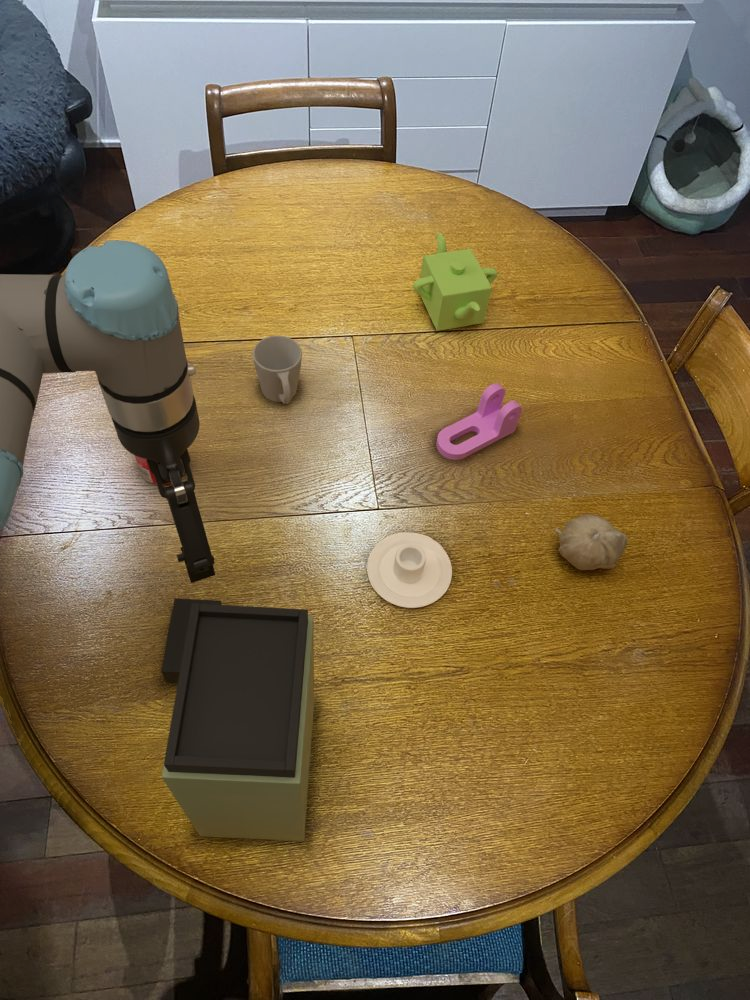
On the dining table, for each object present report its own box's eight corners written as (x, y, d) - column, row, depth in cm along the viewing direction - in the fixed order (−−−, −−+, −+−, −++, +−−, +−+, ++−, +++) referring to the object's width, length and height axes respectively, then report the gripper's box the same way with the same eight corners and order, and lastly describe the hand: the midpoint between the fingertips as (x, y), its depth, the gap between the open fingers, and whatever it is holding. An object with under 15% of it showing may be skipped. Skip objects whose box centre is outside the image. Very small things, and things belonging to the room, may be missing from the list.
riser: (199, 836, 90) (161, 777, 68) (219, 700, 99) (190, 608, 77) (304, 841, 91) (300, 783, 68) (314, 705, 100) (313, 615, 77)
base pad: (168, 771, 68) (163, 764, 66) (194, 613, 76) (191, 603, 74) (295, 777, 68) (294, 770, 66) (308, 619, 77) (307, 609, 75)
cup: (296, 368, 131) (295, 331, 123) (311, 413, 125) (311, 377, 118) (251, 376, 129) (247, 339, 122) (265, 423, 124) (262, 387, 117)
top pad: (213, 685, 100) (209, 673, 97) (166, 682, 100) (160, 671, 97) (223, 613, 106) (220, 600, 102) (179, 611, 105) (174, 598, 102)
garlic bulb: (607, 566, 116) (653, 541, 108) (575, 596, 112) (621, 573, 103) (566, 515, 117) (609, 487, 109) (534, 543, 112) (575, 516, 104)
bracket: (493, 408, 128) (501, 379, 123) (514, 431, 126) (524, 403, 120) (429, 440, 124) (434, 412, 118) (450, 465, 122) (457, 437, 116)
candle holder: (439, 529, 115) (443, 513, 111) (461, 602, 109) (466, 588, 105) (359, 541, 113) (360, 526, 109) (376, 616, 107) (378, 602, 103)
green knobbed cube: (431, 273, 145) (438, 225, 137) (498, 297, 143) (510, 250, 134) (398, 325, 138) (404, 277, 129) (469, 352, 135) (480, 305, 126)
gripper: (234, 500, 65) (251, 609, 83) (158, 301, 77) (188, 434, 95) (144, 527, 63) (182, 633, 81) (81, 319, 75) (126, 451, 93)
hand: (185, 526), depth 88 cm, fingers open, 13 cm apart
